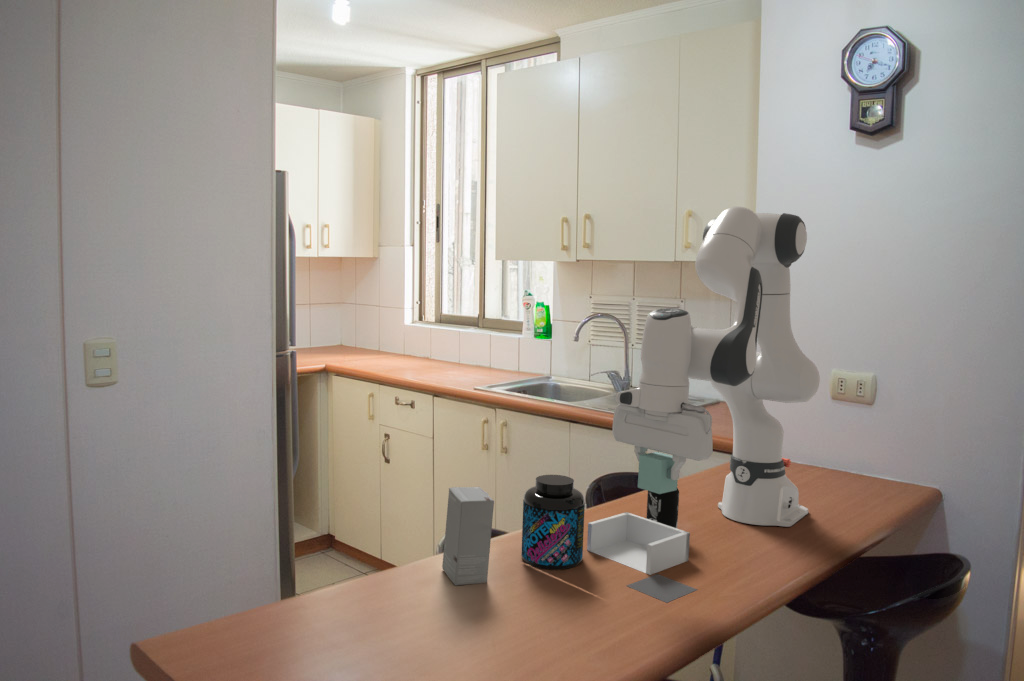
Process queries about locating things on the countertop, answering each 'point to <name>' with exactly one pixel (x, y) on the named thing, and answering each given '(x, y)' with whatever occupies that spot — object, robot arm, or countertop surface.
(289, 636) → the countertop surface
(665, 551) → the bin
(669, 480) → the block
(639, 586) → the mat
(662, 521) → the beverage can
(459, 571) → the skincare box
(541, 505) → the container
